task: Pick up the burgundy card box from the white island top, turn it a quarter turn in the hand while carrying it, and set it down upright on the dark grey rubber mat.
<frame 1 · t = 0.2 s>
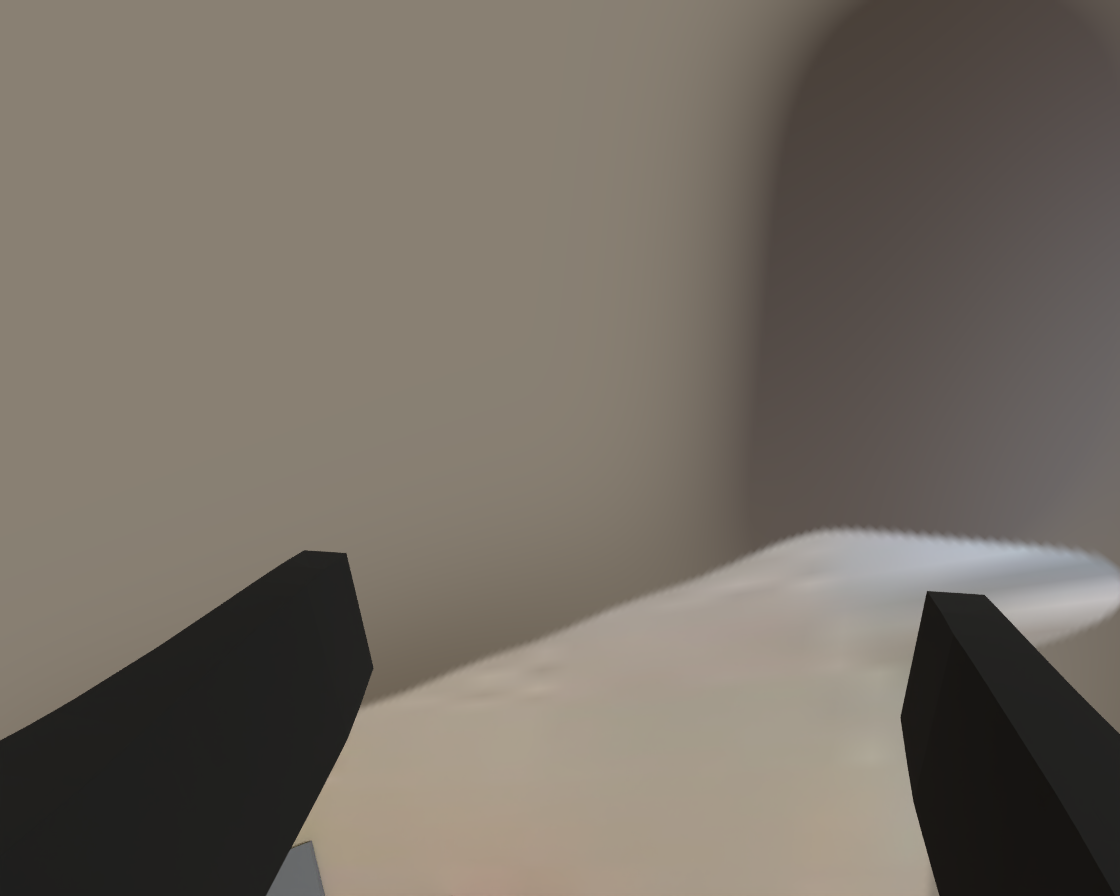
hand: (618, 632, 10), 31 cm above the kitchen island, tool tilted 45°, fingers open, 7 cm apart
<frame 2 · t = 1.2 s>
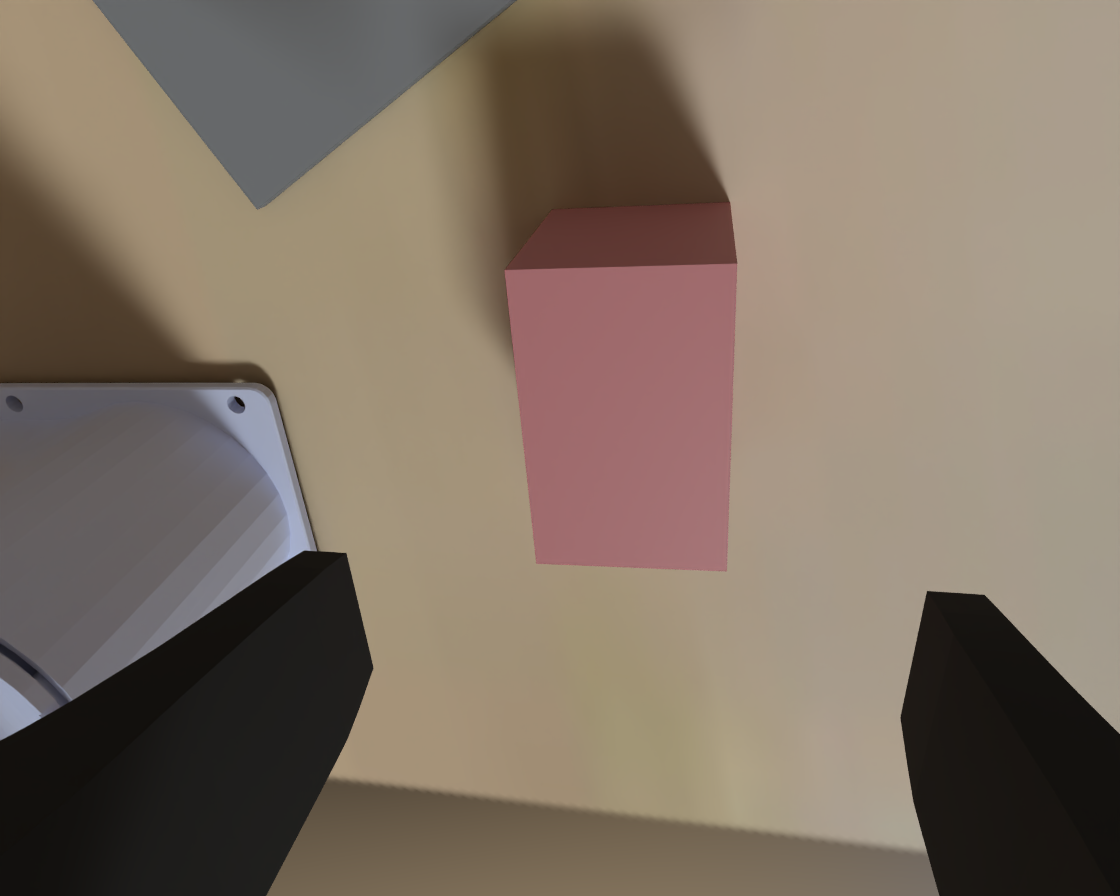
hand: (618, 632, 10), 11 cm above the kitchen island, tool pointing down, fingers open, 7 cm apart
card box: (642, 338, 19), on the kitchen island
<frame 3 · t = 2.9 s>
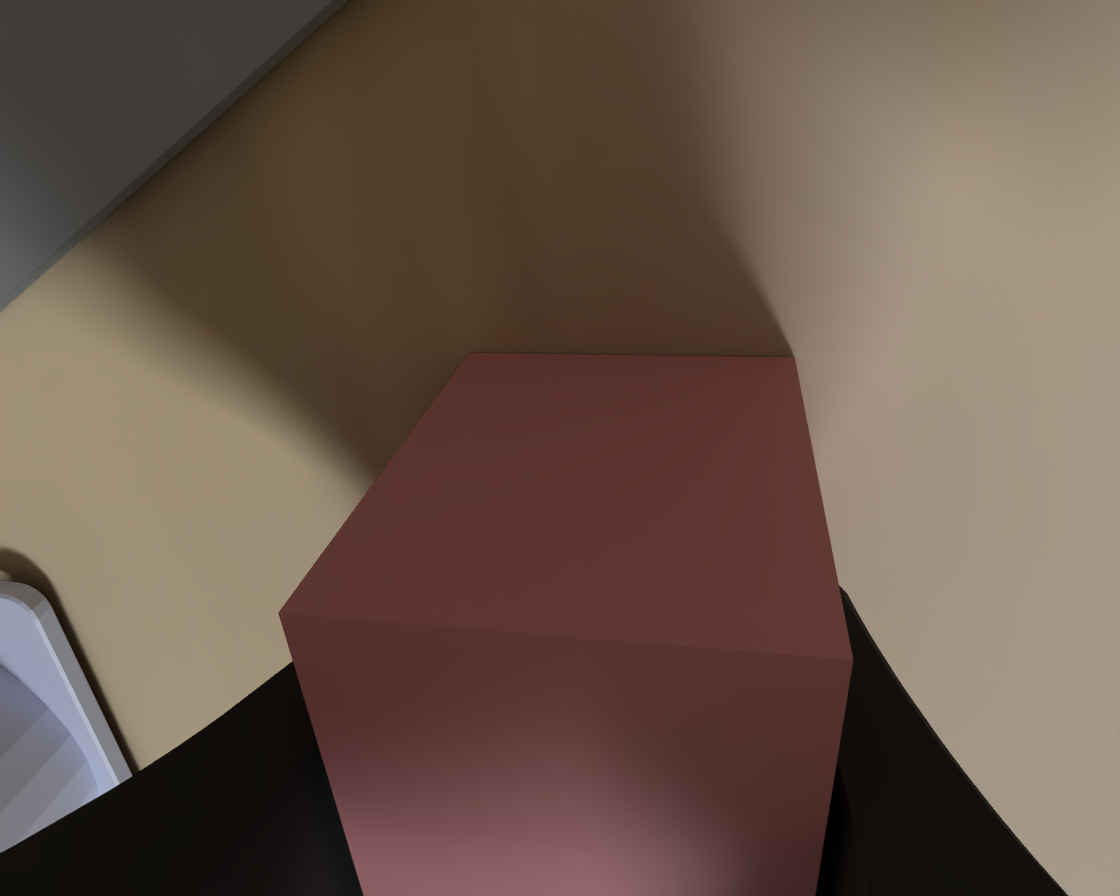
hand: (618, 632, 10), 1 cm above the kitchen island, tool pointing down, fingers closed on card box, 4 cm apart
card box: (630, 563, 11), on the kitchen island, touching gripper
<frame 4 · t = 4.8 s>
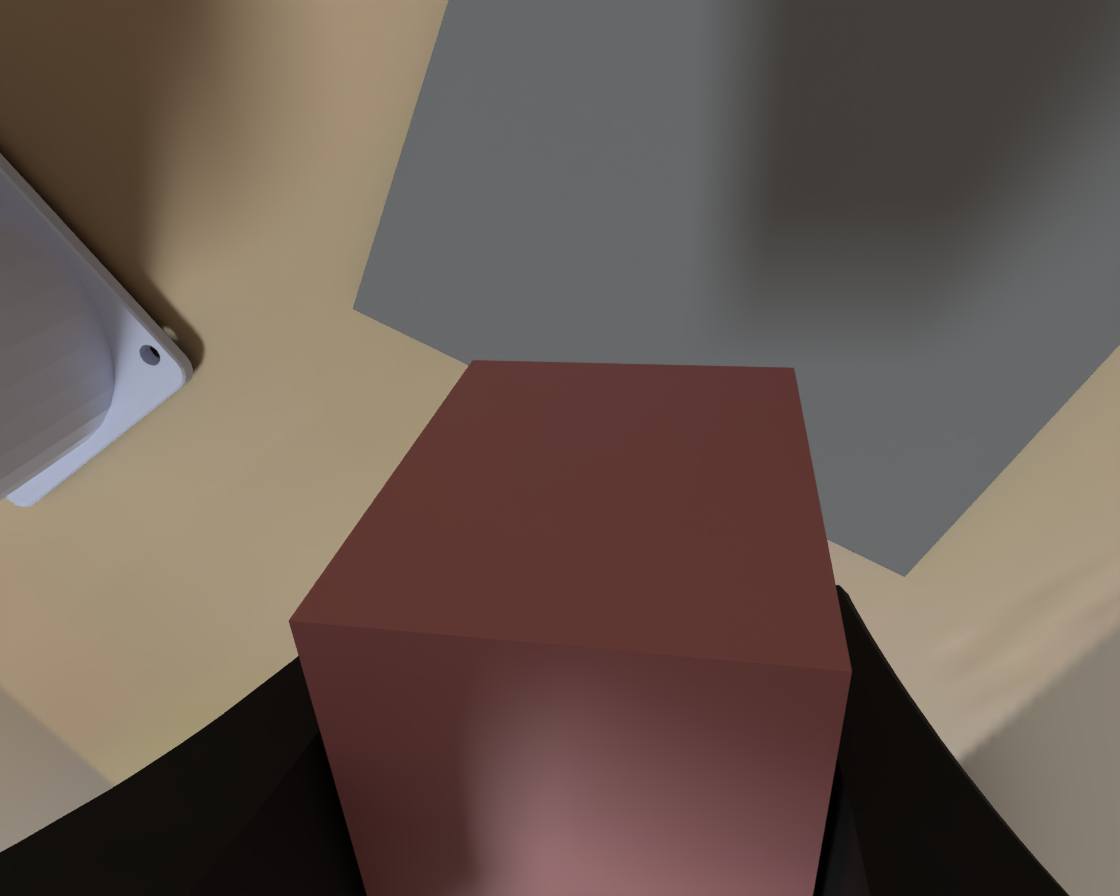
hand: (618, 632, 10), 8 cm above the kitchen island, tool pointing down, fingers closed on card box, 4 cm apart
mat: (837, 94, 14), on the kitchen island
card box: (629, 569, 11), point 7 cm above the kitchen island, touching gripper
when the fingers open (3 cm above the kitchen island, at t = 7.0 s): card box drops 1 cm, resting on mat.
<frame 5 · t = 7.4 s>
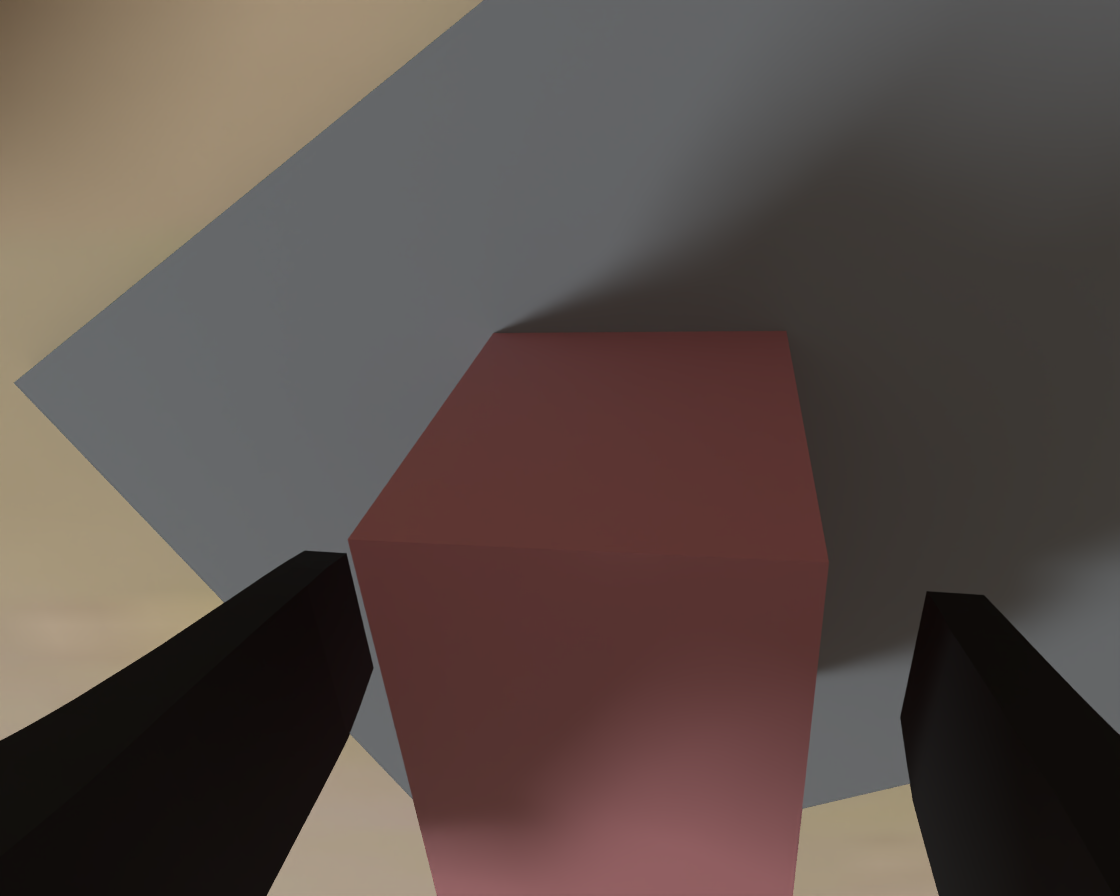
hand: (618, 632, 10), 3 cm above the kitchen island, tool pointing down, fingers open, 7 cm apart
mat: (640, 503, 13), on the kitchen island
card box: (640, 525, 12), resting on mat
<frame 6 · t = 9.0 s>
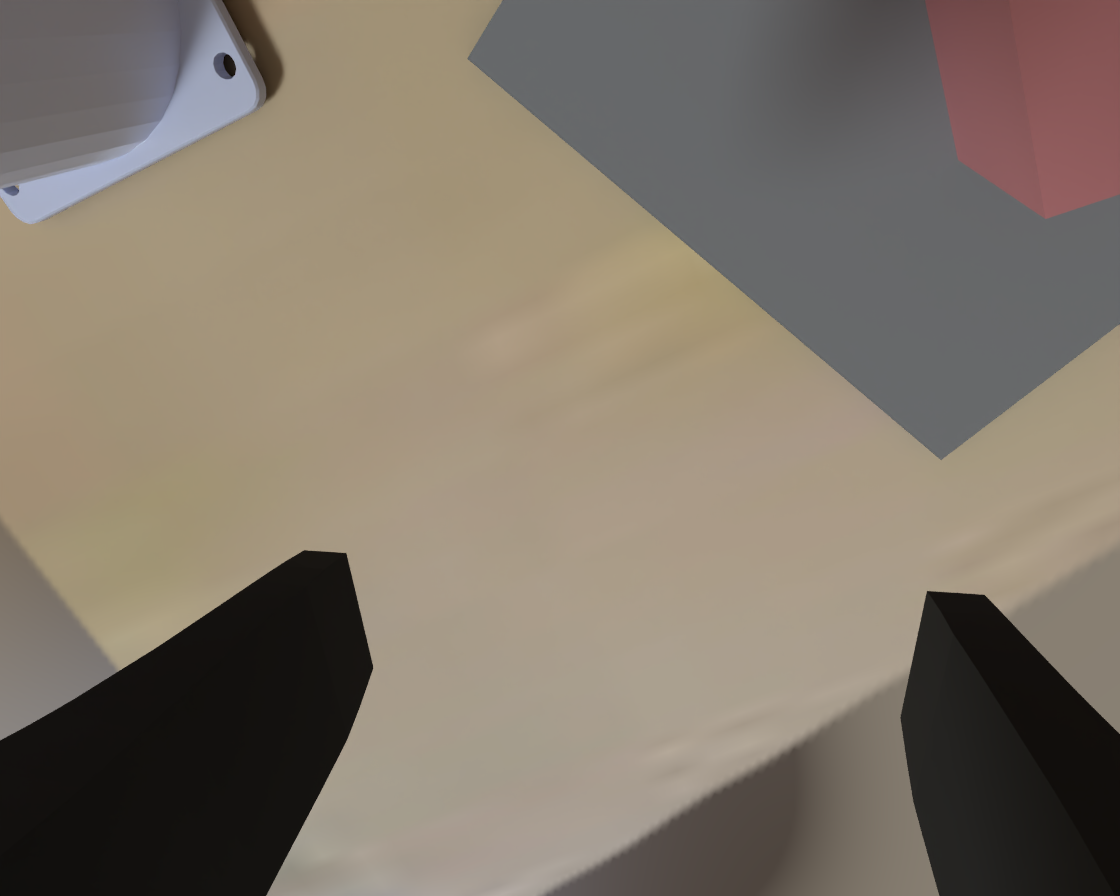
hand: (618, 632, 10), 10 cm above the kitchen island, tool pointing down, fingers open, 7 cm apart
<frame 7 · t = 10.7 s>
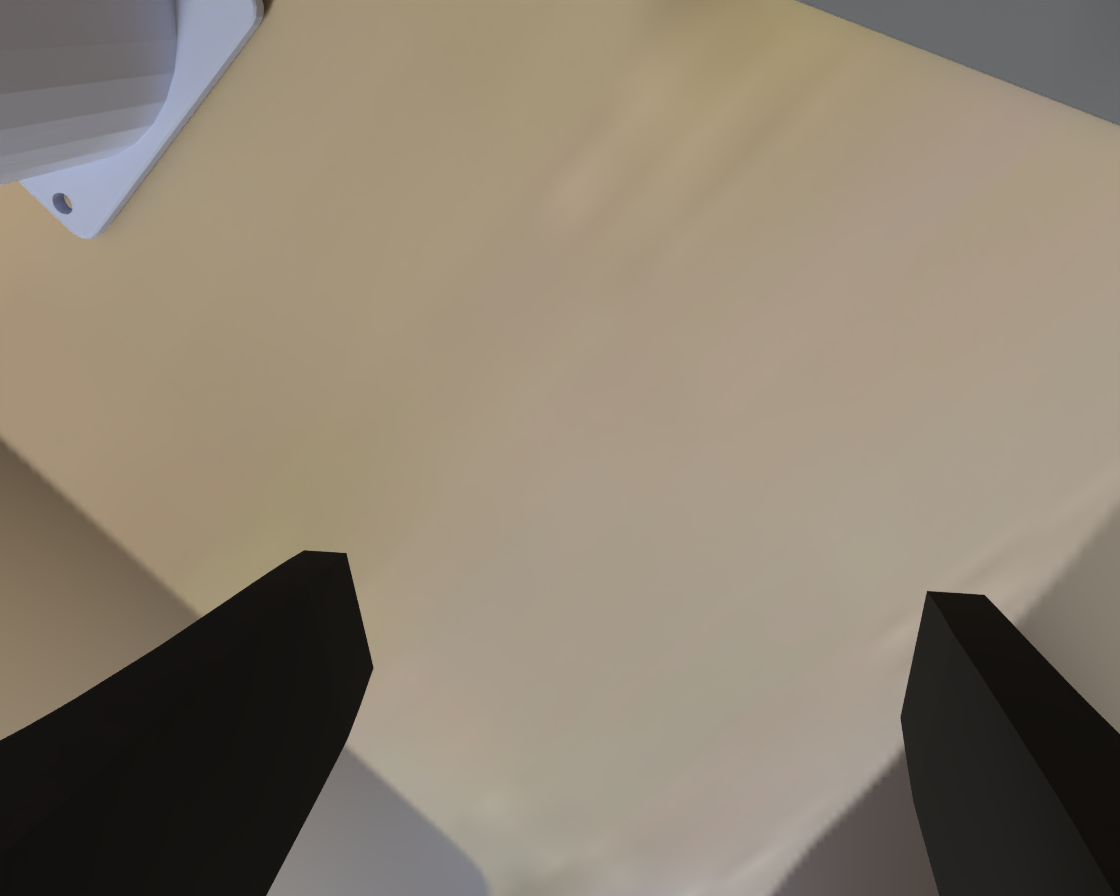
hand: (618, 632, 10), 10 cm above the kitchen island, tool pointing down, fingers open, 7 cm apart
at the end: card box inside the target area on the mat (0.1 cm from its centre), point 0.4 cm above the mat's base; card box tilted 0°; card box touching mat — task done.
